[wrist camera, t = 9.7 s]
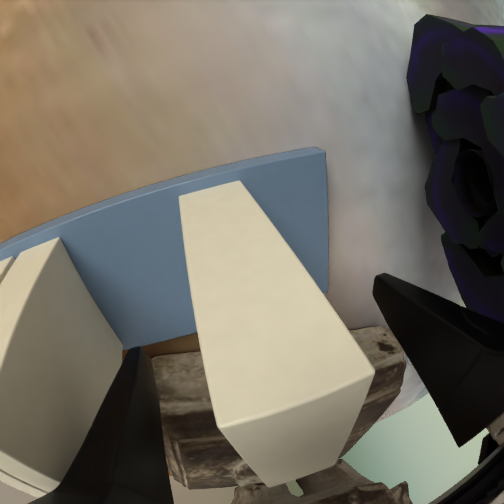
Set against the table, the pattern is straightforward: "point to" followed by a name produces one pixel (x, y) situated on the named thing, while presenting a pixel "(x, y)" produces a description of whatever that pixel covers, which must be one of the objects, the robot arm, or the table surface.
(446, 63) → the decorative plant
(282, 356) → the white box
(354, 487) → the sculpture
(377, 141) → the table surface
